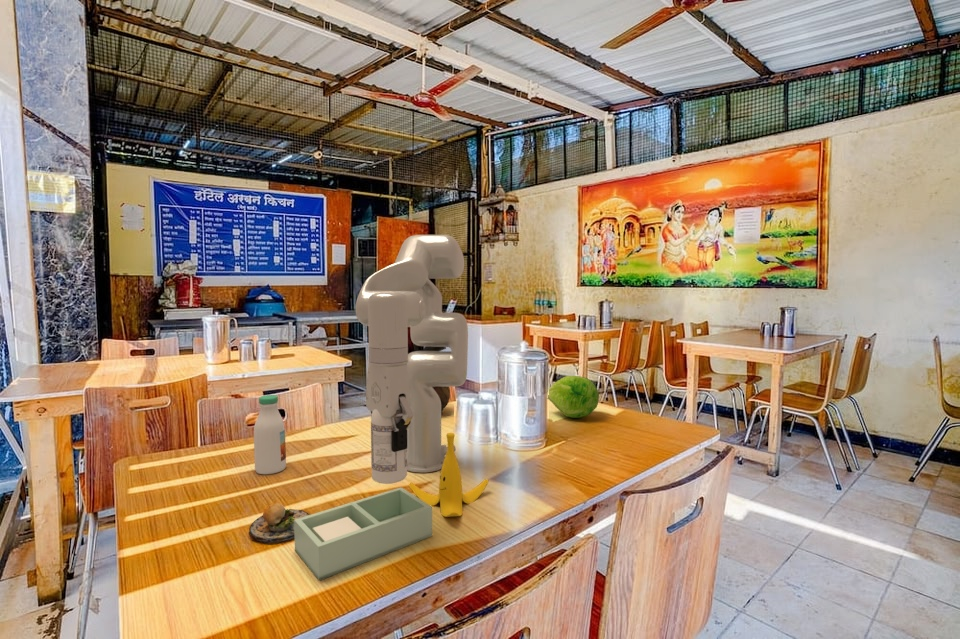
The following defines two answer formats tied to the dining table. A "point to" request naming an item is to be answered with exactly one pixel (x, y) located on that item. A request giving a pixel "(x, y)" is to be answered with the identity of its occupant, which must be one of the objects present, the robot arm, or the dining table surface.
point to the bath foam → (385, 452)
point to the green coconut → (574, 396)
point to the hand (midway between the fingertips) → (389, 444)
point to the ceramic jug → (440, 390)
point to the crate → (363, 531)
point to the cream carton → (335, 529)
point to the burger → (275, 524)
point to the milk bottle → (269, 437)
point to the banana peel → (450, 486)
